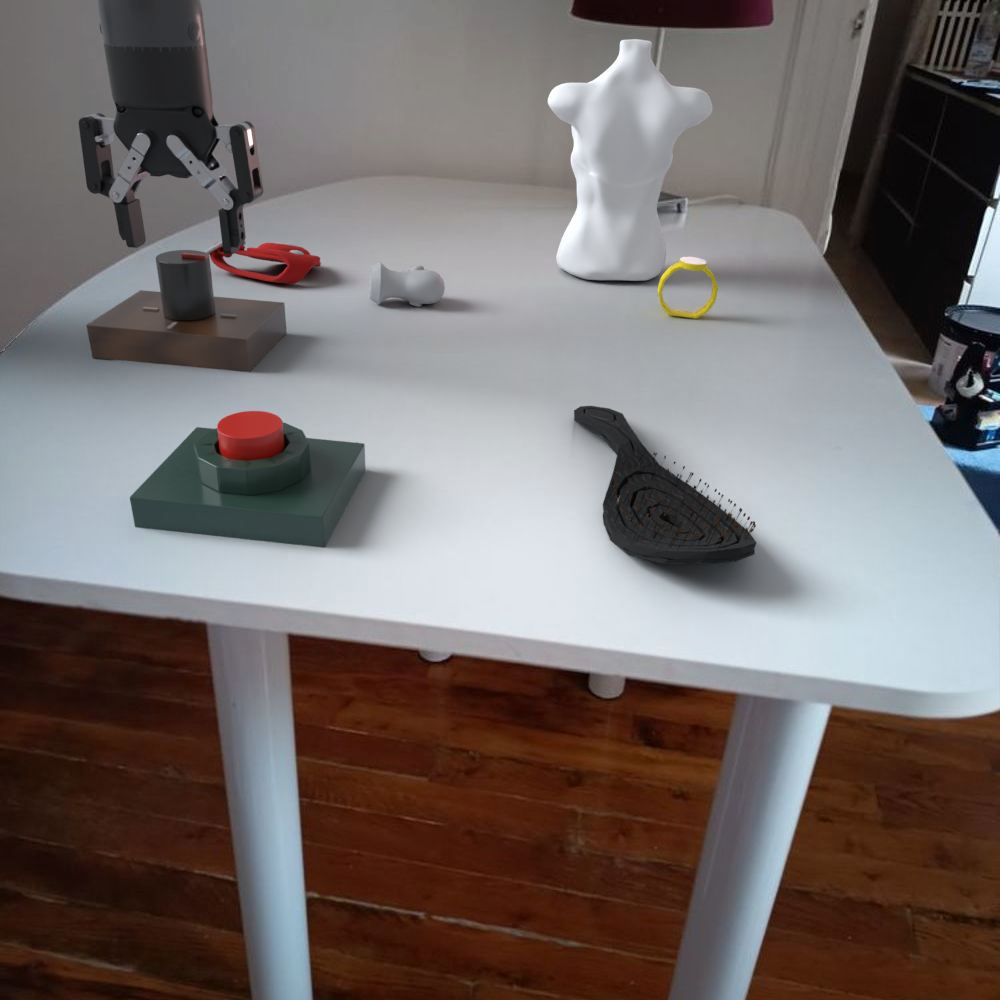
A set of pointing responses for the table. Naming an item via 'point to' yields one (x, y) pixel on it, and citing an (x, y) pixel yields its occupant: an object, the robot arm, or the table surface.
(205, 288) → the dimmer knob
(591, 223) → the torso sculpture
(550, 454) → the table surface
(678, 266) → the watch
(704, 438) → the table surface
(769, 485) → the table surface
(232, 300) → the dimmer panel
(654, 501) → the hairbrush
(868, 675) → the table surface
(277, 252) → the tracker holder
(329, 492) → the switch block
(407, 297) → the pale two-lobed sculpture
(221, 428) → the button
